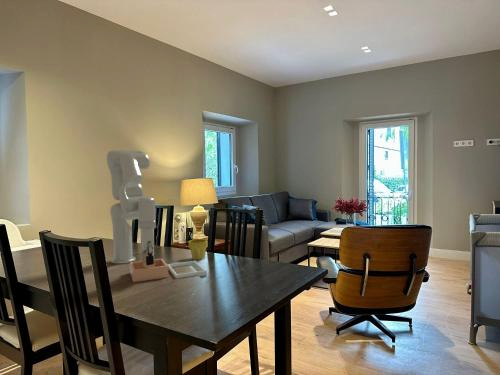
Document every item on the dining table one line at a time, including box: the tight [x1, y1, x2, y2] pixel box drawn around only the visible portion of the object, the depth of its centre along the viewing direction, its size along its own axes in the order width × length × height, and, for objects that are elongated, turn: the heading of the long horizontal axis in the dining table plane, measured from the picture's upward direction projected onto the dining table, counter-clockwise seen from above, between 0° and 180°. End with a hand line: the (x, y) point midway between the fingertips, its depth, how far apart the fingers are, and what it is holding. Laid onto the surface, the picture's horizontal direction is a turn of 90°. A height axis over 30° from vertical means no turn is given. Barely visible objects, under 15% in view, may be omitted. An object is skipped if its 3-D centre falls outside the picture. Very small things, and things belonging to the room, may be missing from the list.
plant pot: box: [188, 238, 208, 261], centre depth 190 cm, size 10×10×10 cm
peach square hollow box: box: [129, 258, 170, 283], centre depth 157 cm, size 15×15×6 cm
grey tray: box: [166, 260, 208, 279], centre depth 163 cm, size 20×14×2 cm
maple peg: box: [141, 249, 155, 269], centre depth 157 cm, size 5×5×12 cm
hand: (148, 262), depth 157 cm, fingers open, 9 cm apart
